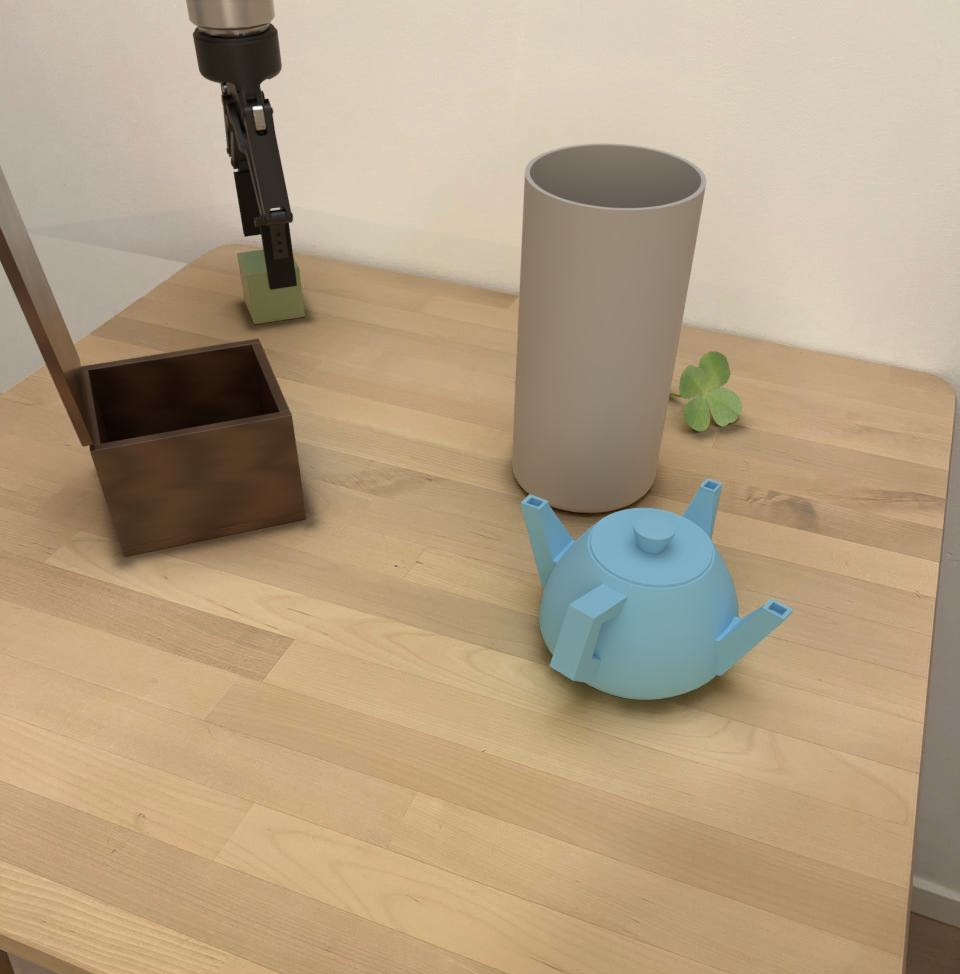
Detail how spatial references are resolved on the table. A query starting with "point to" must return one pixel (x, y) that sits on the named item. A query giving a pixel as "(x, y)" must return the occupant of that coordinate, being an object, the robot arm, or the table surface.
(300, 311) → the block
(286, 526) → the table surface
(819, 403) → the table surface
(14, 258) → the lid
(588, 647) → the teapot
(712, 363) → the green clover leaf
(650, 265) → the cylinder vase
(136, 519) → the chest
